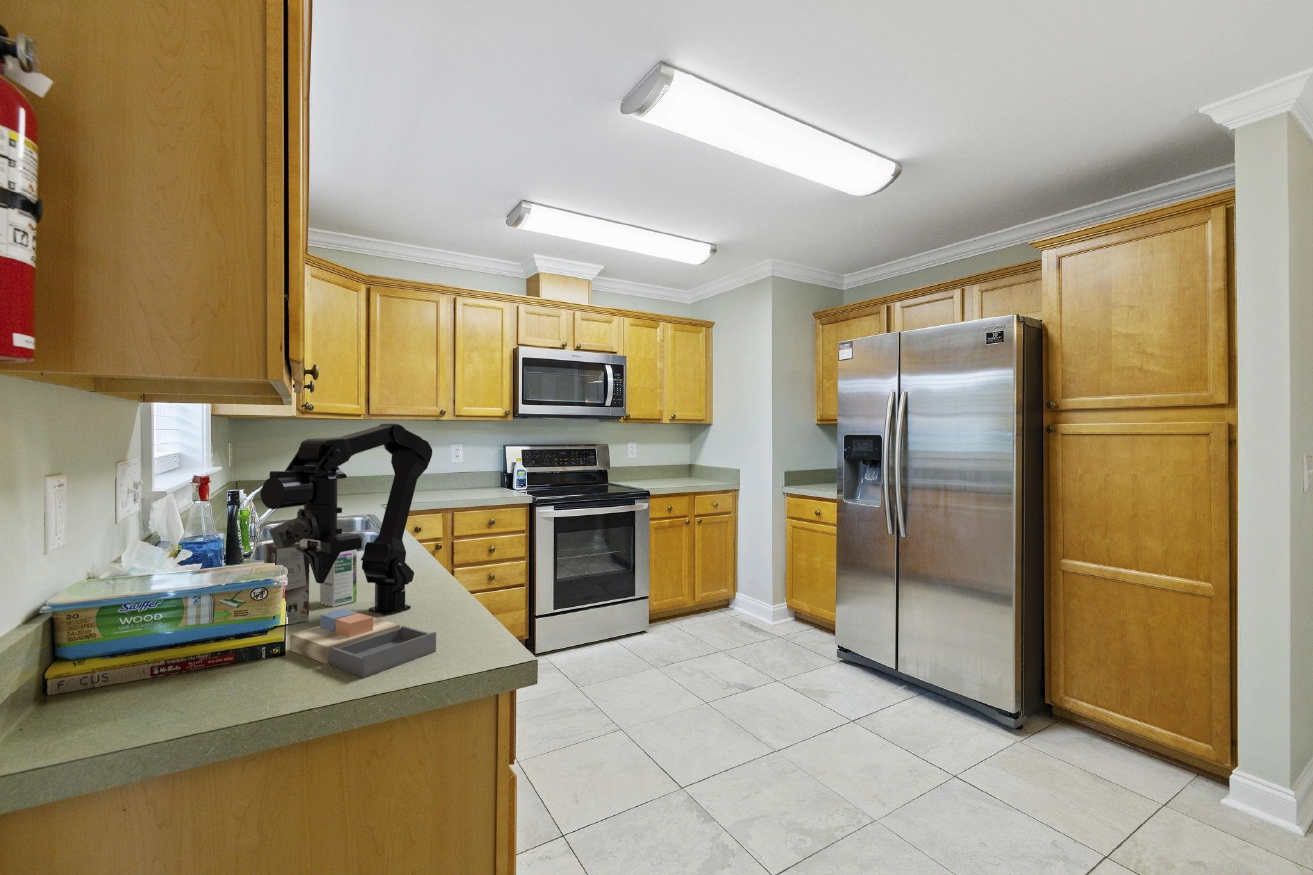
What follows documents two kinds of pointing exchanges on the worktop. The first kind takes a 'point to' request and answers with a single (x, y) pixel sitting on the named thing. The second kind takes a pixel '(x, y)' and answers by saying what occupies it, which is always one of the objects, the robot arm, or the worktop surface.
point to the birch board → (331, 639)
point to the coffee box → (292, 579)
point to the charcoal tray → (383, 651)
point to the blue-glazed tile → (333, 619)
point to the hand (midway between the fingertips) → (320, 582)
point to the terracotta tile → (354, 625)
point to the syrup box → (341, 581)
